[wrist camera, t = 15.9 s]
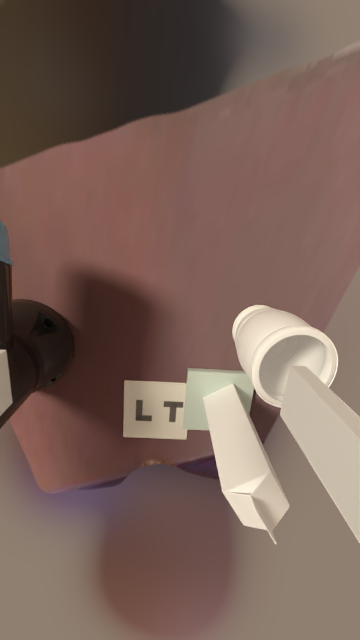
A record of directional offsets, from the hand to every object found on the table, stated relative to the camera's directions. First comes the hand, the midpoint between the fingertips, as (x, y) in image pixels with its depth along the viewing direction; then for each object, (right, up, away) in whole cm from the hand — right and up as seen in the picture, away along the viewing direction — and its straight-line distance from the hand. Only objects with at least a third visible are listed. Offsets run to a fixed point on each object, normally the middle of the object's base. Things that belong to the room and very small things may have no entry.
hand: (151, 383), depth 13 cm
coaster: (+8, -12, +37) cm, 40 cm away
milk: (+9, -12, +36) cm, 39 cm away
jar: (+14, +2, +33) cm, 36 cm away
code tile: (-3, -14, +37) cm, 40 cm away
